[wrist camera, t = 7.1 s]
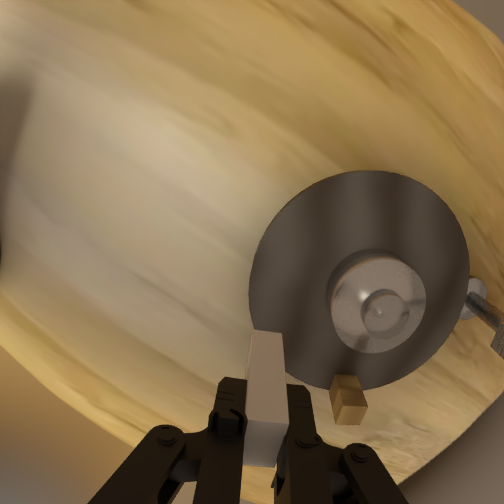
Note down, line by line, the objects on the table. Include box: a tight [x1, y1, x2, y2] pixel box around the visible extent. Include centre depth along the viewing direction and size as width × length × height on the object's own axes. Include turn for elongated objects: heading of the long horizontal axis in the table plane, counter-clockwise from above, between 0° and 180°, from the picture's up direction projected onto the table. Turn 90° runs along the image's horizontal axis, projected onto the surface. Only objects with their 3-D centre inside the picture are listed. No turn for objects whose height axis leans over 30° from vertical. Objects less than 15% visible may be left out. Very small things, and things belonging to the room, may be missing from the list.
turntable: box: [249, 171, 470, 425], centre depth 26 cm, size 22×22×7 cm
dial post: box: [459, 276, 504, 359], centre depth 24 cm, size 6×5×13 cm
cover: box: [325, 248, 426, 353], centre depth 25 cm, size 8×8×6 cm
